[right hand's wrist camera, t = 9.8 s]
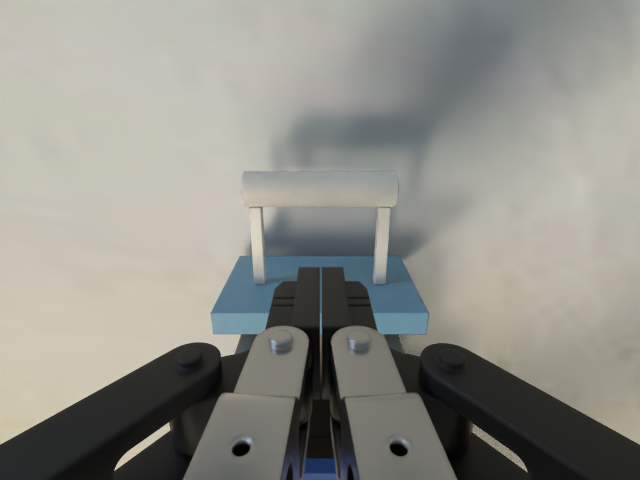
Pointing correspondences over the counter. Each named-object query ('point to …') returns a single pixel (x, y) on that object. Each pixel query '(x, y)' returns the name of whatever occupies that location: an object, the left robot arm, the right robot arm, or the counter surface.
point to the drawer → (269, 271)
